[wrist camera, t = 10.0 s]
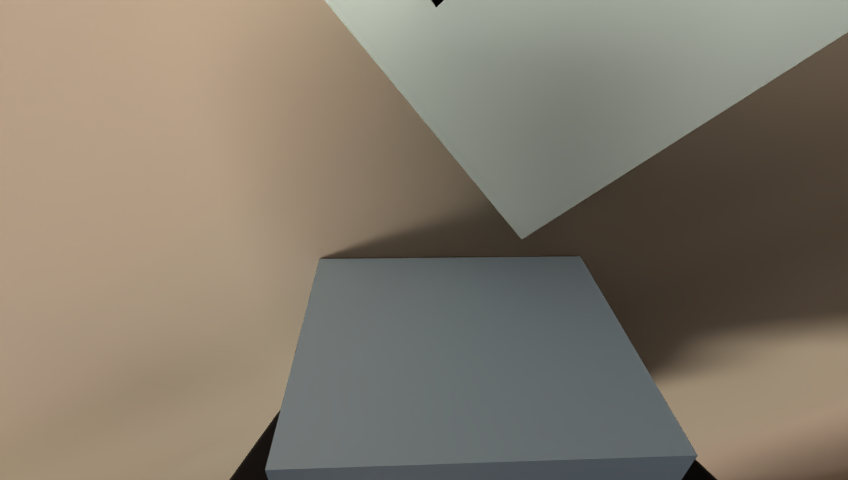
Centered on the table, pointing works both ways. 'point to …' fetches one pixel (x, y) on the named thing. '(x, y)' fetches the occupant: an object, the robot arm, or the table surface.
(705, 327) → the table surface
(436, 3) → the base brick
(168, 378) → the table surface
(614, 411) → the blue brick
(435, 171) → the table surface
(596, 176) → the baseplate
